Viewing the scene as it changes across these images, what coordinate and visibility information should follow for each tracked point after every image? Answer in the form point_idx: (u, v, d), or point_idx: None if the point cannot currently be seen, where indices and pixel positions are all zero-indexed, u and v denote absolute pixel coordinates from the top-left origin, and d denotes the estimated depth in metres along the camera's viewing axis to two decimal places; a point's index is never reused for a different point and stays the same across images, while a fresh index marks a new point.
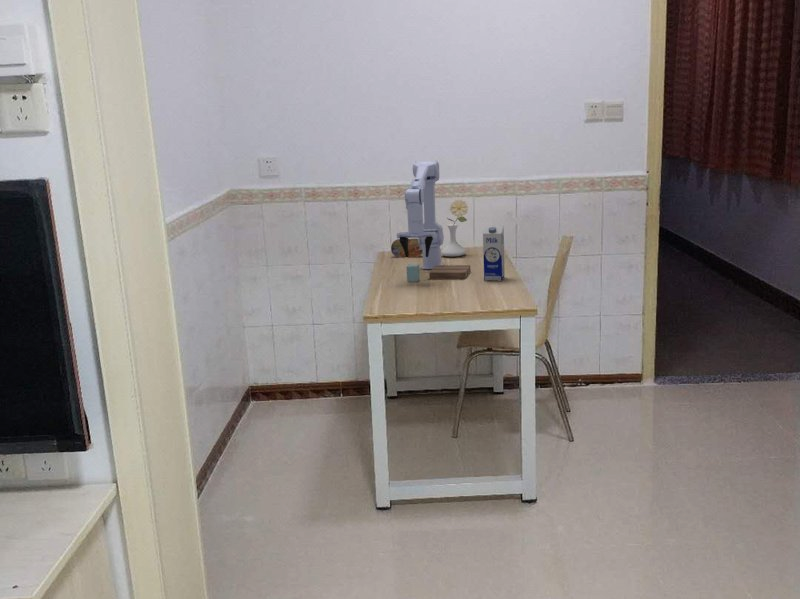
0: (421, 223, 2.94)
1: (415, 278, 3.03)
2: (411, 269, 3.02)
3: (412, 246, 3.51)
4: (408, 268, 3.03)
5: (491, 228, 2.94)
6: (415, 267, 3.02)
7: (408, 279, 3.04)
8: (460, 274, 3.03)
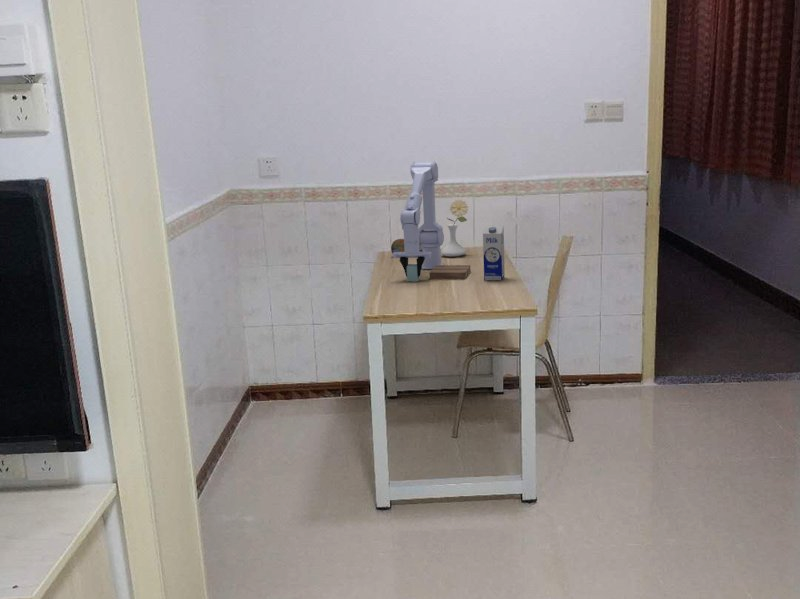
0: (417, 243, 3.00)
1: (415, 278, 3.03)
2: (411, 268, 3.02)
3: None
4: (408, 268, 3.03)
5: (491, 228, 2.94)
6: (415, 267, 3.02)
7: (408, 279, 3.04)
8: (460, 274, 3.03)
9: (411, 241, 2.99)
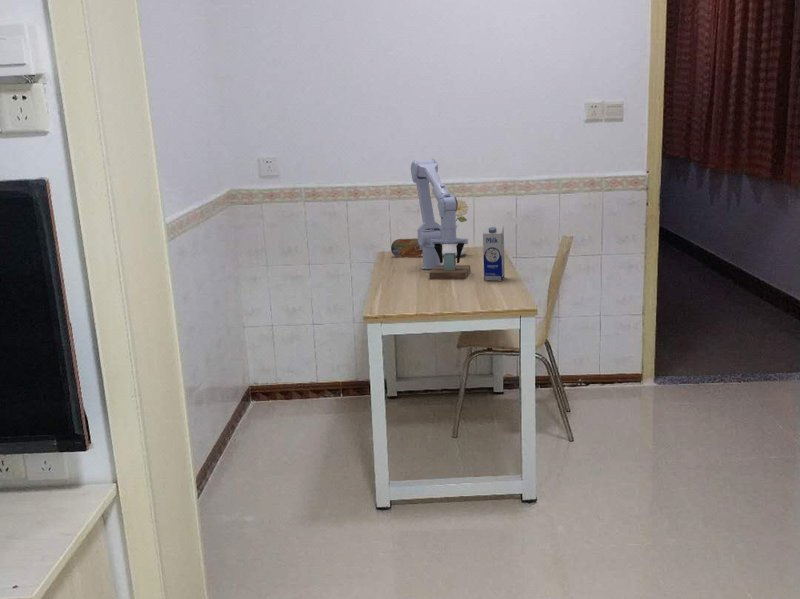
0: (454, 230, 3.05)
1: (452, 266, 3.08)
2: (448, 257, 3.07)
3: (412, 246, 3.51)
4: (445, 257, 3.08)
5: (491, 228, 2.94)
6: (452, 256, 3.07)
7: (445, 267, 3.09)
8: (460, 274, 3.03)
9: (453, 227, 3.04)
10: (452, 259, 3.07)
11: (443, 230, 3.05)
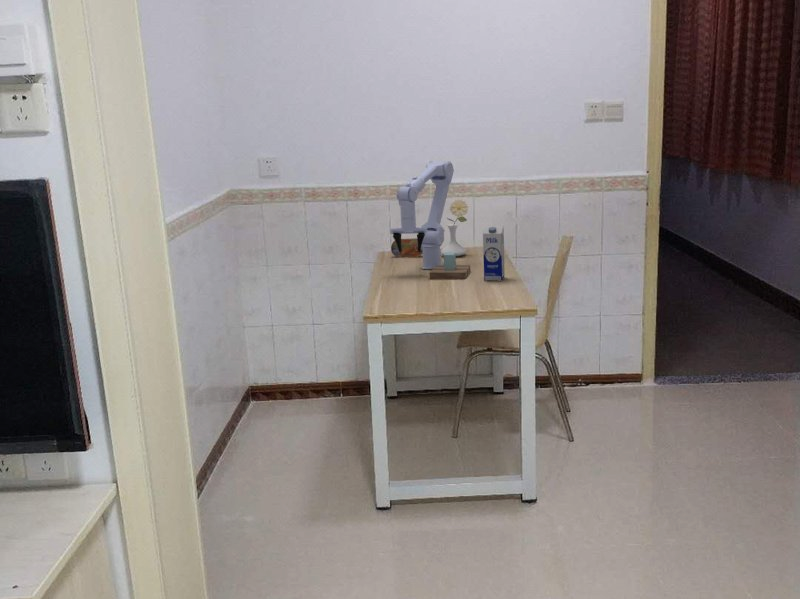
0: (413, 219, 3.09)
1: (452, 266, 3.08)
2: (448, 257, 3.07)
3: (412, 246, 3.51)
4: (445, 257, 3.08)
5: (491, 228, 2.94)
6: (452, 256, 3.07)
7: (445, 267, 3.09)
8: (460, 274, 3.03)
9: (406, 217, 3.07)
10: (452, 259, 3.07)
11: (402, 219, 3.09)
